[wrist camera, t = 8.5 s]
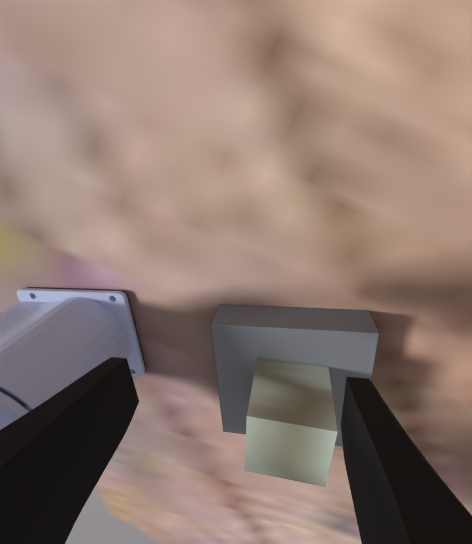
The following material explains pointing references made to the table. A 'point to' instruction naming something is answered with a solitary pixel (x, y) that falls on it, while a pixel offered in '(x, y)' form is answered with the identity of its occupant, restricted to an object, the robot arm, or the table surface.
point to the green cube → (290, 421)
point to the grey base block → (288, 350)
